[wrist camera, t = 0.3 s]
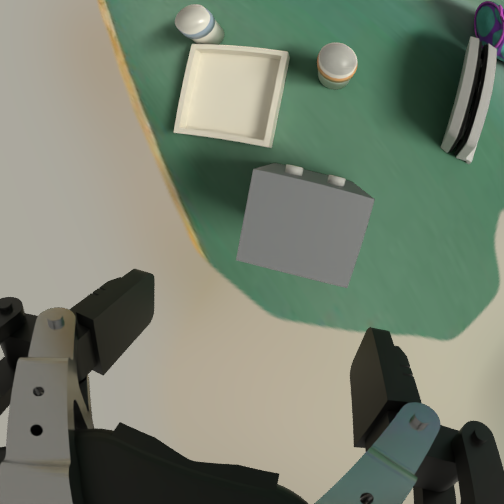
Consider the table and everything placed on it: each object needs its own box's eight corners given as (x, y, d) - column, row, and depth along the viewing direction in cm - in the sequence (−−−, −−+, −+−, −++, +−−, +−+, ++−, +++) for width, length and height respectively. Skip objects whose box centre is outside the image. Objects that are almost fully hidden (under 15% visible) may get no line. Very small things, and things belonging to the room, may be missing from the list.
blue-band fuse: (199, 23, 31) (178, 4, 25) (228, 24, 31) (212, 3, 24) (192, 49, 33) (170, 33, 26) (221, 50, 32) (203, 32, 26)
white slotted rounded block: (467, 166, 30) (484, 158, 22) (438, 151, 32) (447, 137, 24) (492, 68, 24) (508, 39, 16) (464, 54, 26) (473, 22, 18)
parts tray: (198, 49, 33) (191, 44, 30) (289, 57, 31) (288, 51, 29) (181, 133, 37) (173, 132, 35) (271, 147, 36) (268, 147, 33)
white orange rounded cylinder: (319, 56, 30) (320, 37, 24) (353, 64, 30) (361, 47, 23) (314, 86, 32) (314, 72, 25) (347, 94, 31) (355, 82, 25)
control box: (276, 157, 36) (255, 160, 23) (353, 176, 35) (376, 190, 22) (262, 225, 39) (235, 264, 26) (335, 244, 38) (345, 292, 25)
